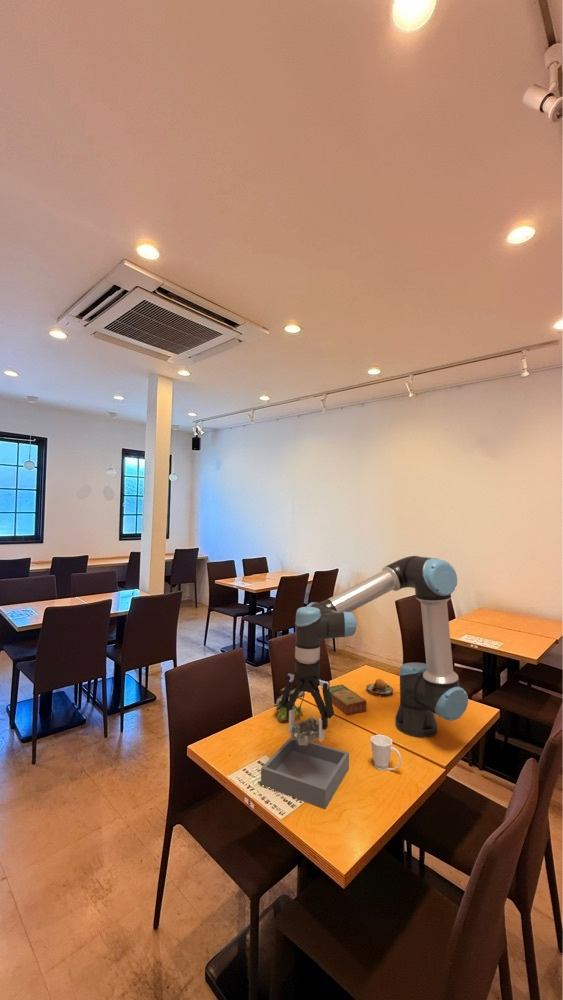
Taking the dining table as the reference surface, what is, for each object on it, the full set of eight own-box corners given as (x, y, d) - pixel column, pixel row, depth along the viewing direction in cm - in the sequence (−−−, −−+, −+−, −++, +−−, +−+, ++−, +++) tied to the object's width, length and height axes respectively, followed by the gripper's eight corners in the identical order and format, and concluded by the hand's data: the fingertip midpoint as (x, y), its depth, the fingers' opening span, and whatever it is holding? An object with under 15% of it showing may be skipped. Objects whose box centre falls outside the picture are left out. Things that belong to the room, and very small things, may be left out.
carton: (347, 716, 162) (347, 704, 162) (323, 698, 178) (323, 686, 178) (367, 712, 165) (367, 700, 166) (342, 694, 182) (342, 683, 182)
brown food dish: (395, 689, 188) (395, 673, 188) (391, 699, 177) (391, 682, 177) (369, 685, 193) (369, 668, 193) (363, 694, 182) (363, 677, 182)
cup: (376, 757, 134) (376, 731, 134) (405, 769, 127) (405, 743, 128) (365, 766, 128) (366, 740, 129) (395, 780, 122) (395, 752, 122)
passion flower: (283, 727, 164) (291, 692, 172) (308, 731, 157) (315, 694, 165) (265, 718, 157) (273, 681, 165) (290, 721, 150) (298, 683, 158)
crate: (349, 769, 127) (349, 752, 127) (325, 809, 109) (325, 789, 110) (291, 751, 136) (291, 736, 137) (260, 785, 119) (261, 768, 119)
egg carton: (301, 748, 118) (301, 734, 118) (286, 736, 124) (286, 723, 124) (328, 737, 124) (328, 723, 124) (313, 726, 130) (313, 714, 130)
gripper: (346, 662, 123) (345, 738, 122) (281, 650, 133) (280, 721, 132) (337, 670, 116) (336, 751, 115) (270, 657, 126) (268, 731, 125)
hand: (306, 735), depth 123 cm, fingers closed on egg carton, 9 cm apart
